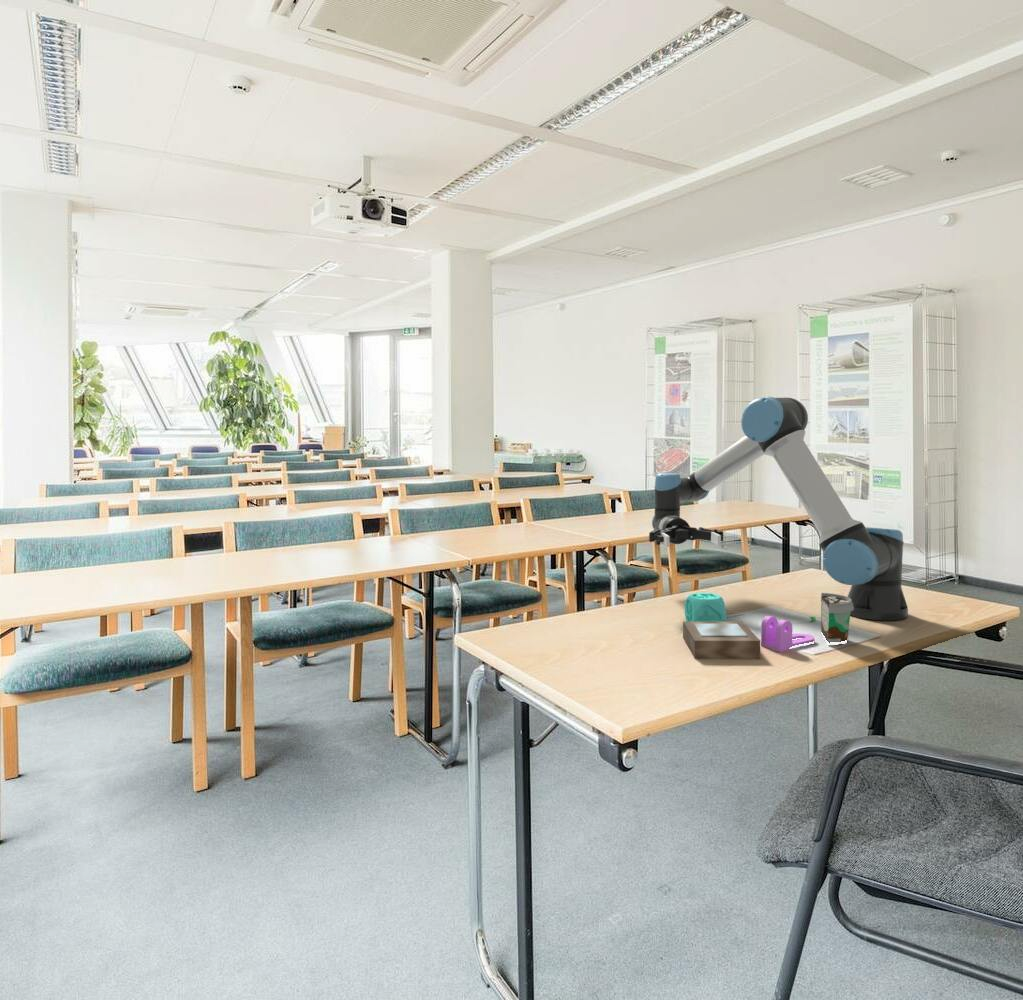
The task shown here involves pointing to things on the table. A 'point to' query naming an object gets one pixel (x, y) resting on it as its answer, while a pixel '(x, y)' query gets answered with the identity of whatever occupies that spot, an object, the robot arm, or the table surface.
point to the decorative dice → (705, 608)
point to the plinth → (721, 640)
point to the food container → (835, 616)
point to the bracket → (780, 635)
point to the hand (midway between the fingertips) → (693, 541)
